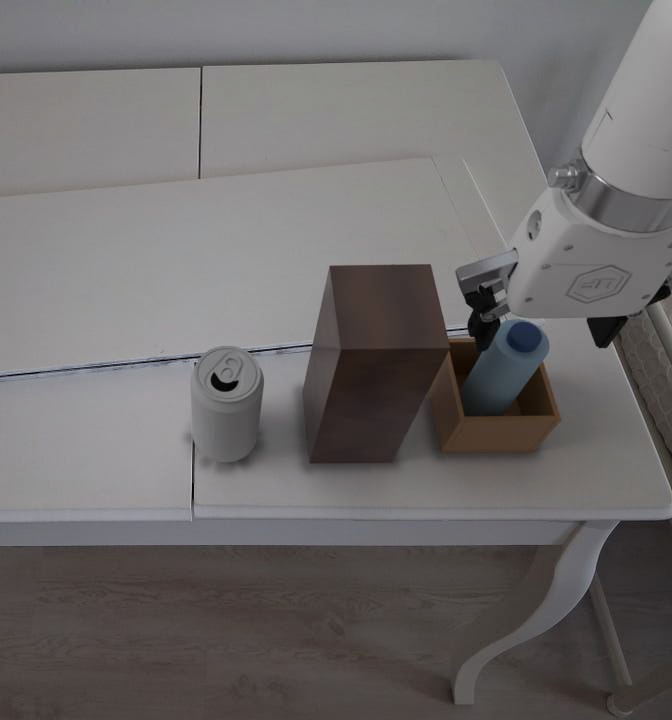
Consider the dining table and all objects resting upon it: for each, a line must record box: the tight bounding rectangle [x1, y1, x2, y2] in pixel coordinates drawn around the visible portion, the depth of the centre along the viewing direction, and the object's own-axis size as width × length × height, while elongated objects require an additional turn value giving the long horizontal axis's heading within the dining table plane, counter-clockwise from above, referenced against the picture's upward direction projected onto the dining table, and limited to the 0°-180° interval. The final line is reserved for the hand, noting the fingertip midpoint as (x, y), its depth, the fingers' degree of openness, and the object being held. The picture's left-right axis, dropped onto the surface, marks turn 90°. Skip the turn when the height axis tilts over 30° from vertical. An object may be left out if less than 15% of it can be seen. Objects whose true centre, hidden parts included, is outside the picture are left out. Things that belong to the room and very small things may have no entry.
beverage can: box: [189, 345, 265, 463], centre depth 66 cm, size 6×6×12 cm
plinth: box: [301, 263, 450, 465], centre depth 63 cm, size 8×8×20 cm
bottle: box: [459, 318, 551, 417], centre depth 66 cm, size 5×5×13 cm
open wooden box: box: [428, 337, 562, 453], centre depth 70 cm, size 9×9×6 cm
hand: (536, 335), depth 60 cm, fingers open, 9 cm apart
